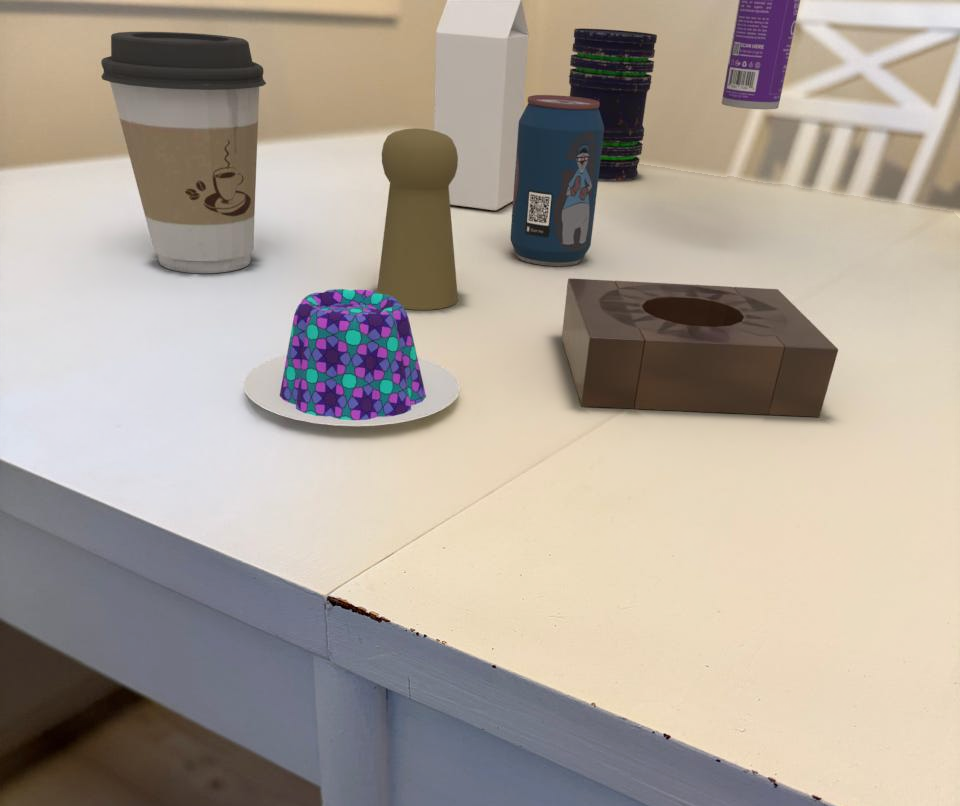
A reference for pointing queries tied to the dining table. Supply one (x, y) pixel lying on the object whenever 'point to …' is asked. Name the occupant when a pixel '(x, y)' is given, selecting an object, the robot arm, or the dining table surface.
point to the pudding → (351, 365)
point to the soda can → (556, 179)
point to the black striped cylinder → (615, 92)
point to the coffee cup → (190, 142)
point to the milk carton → (481, 96)
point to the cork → (419, 220)
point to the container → (759, 53)
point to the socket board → (694, 349)
